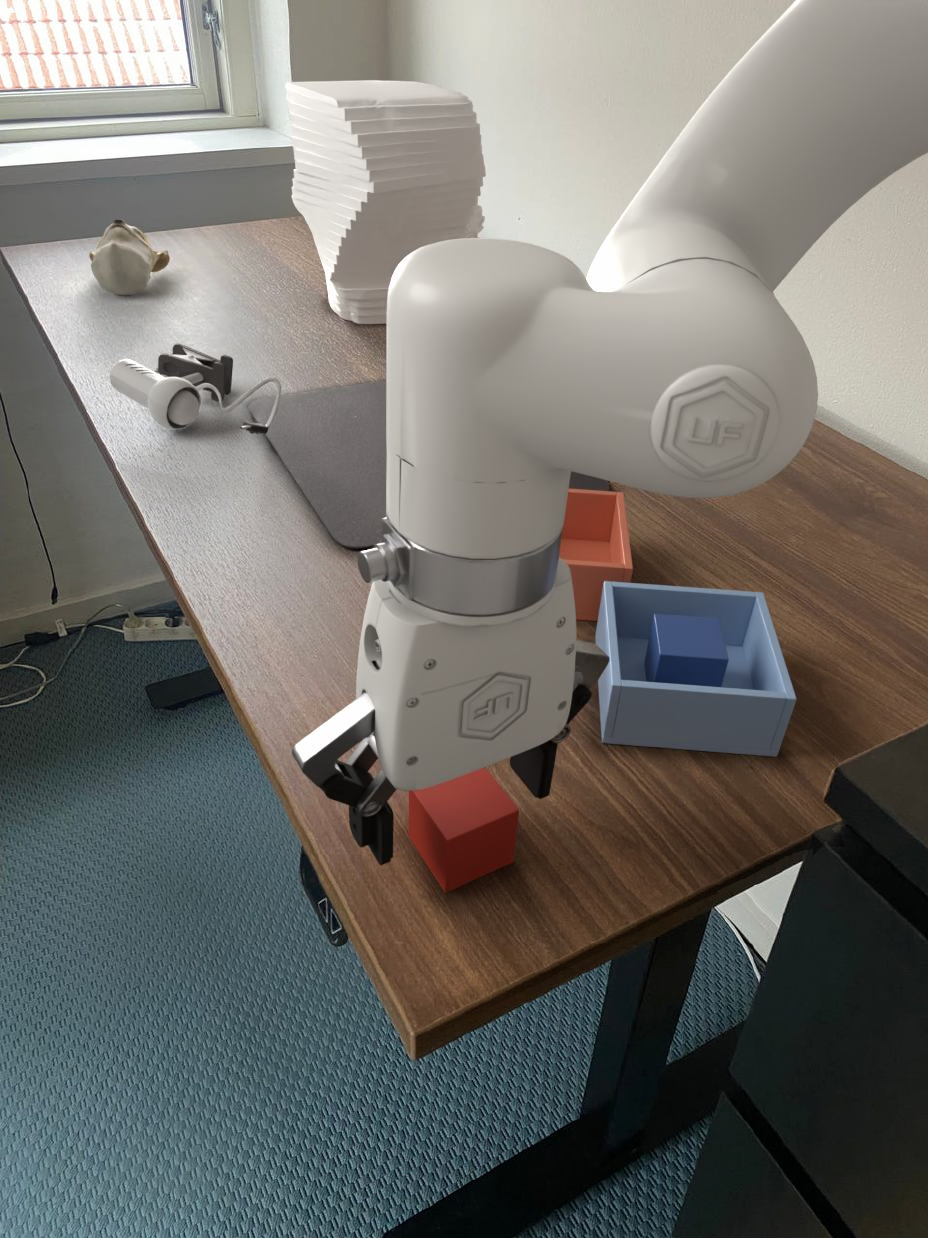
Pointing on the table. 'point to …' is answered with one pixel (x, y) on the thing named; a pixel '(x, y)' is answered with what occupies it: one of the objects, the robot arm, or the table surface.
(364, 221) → the paper stack
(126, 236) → the ceramic sculpture
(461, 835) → the red block
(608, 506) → the red bin
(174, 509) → the table surface
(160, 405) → the clip-on lamp
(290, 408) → the mouse pad
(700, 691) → the blue bin
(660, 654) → the blue block
